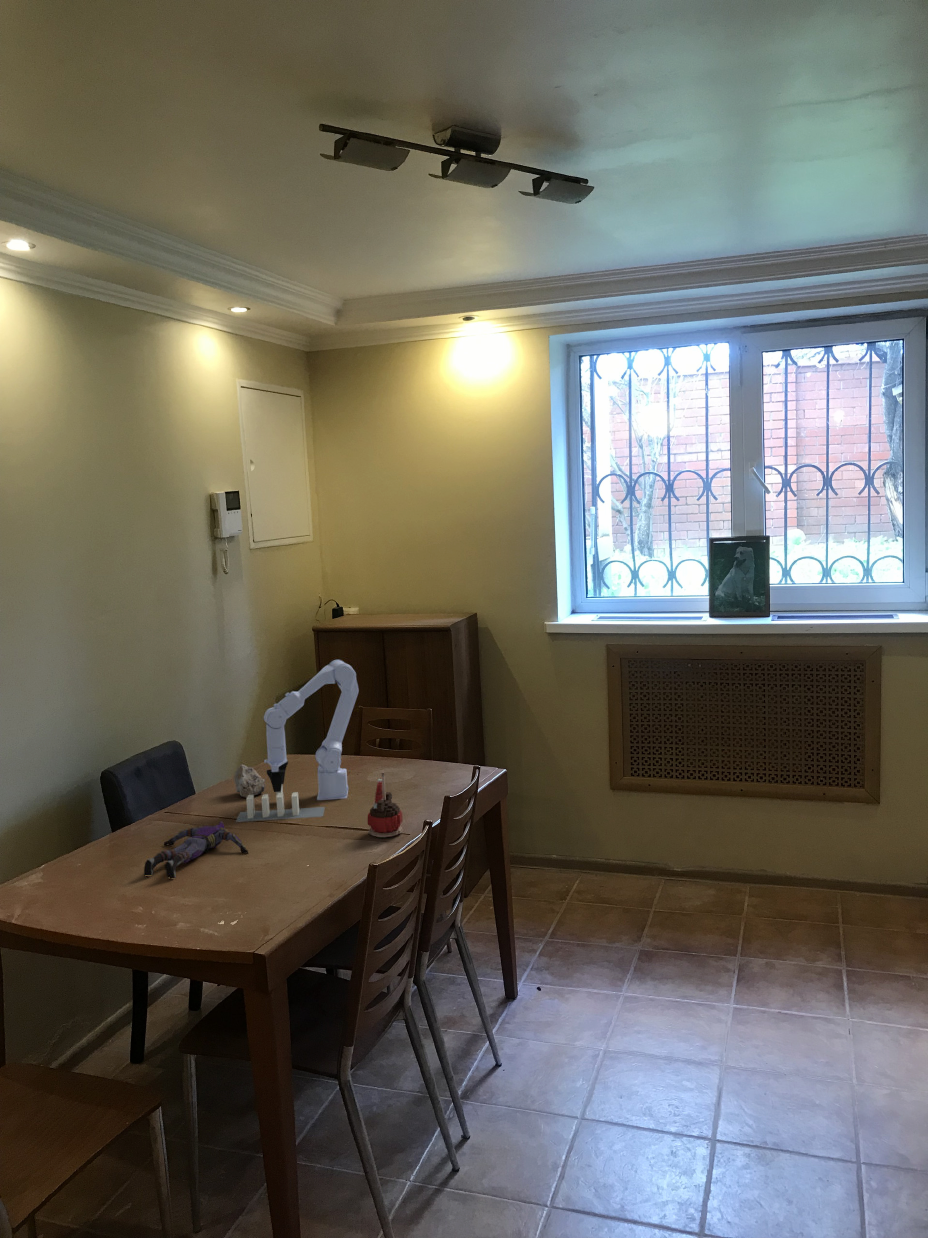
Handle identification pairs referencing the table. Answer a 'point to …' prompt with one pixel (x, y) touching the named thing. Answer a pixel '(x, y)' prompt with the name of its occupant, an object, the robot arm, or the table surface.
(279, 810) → the domino
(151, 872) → the figurine
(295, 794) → the domino
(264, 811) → the domino
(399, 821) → the cake
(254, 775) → the rock
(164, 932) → the table surface
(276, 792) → the domino
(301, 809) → the mat
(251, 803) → the domino
